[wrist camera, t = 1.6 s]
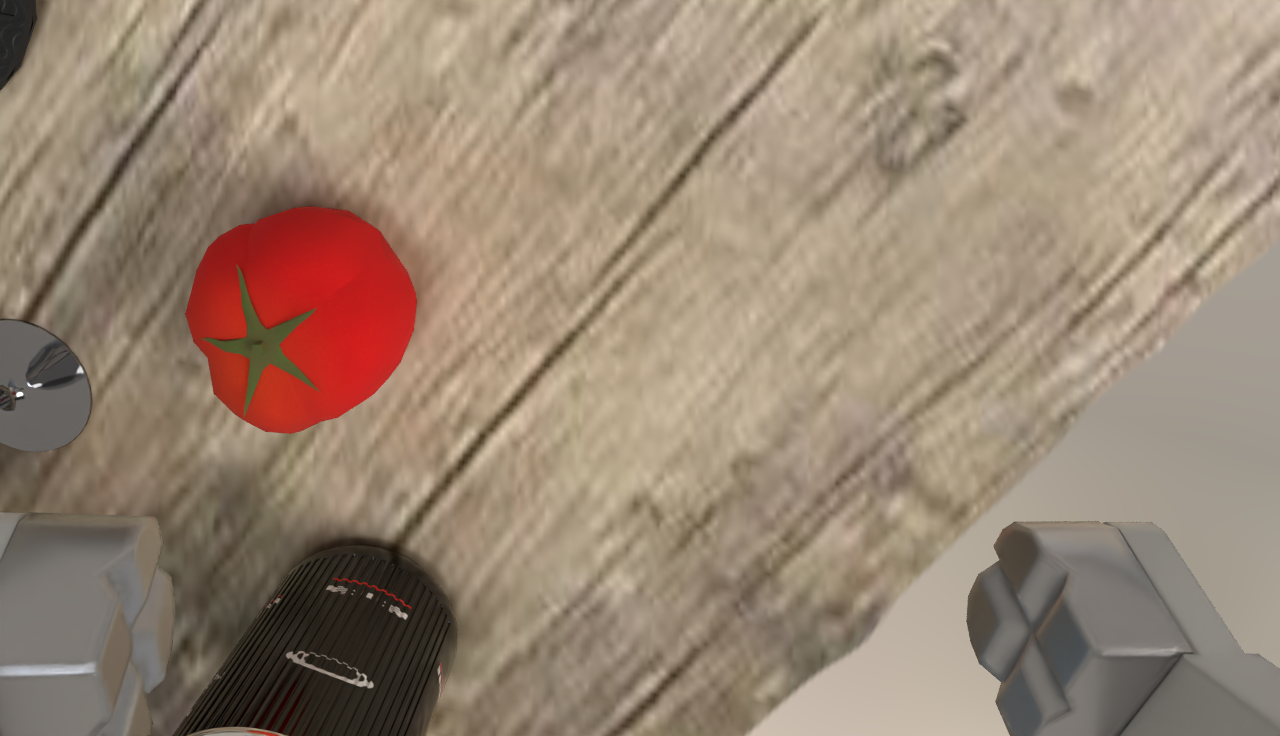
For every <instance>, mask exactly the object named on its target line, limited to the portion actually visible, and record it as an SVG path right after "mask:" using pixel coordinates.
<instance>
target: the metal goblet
mask: <svg viewBox="0 0 1280 736" xmlns="http://www.w3.org/2000/svg"><path fill="white" fill-rule="evenodd" d="M91 405H92V397H91V388H90V384H89V380H88V378H87V375H86V373H85V371H84V368H83V367H82V365H81V363H80V362H79V360H78V359H77V357H76V356H75V355H74V353H73V352H72V351H71V350H70V349H69V348H68V346H66V345H65V344H64V343H63V342H62V341H61V340H60V339H58V338H57V337H56V336H54V335H53V334H51V333H50V332H48V331H46V330H45V329H42V328H40V327H38V326H36V325H34V324H30V323H27V322H23V321H18V320H10V319H4V320H0V443H2V444H5V445H7V446H9V447H12V448H16V449H19V450H24V451H32V452H38V451H49V450H54V449H58V448H60V447H63V446H65V445H67V444H68V443H70V442H71V441H73V440H74V439H75V438H76V437H77V436H78V435H79V434H80V433H81V432H82V431H83V429H84V427H85V426H86V424H87V422H88V419H89V416H90V413H91Z"/></svg>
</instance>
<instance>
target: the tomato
mask: <svg viewBox="0 0 1280 736" xmlns="http://www.w3.org/2000/svg"><path fill="white" fill-rule="evenodd" d="M416 305H417V299H416V292H415V290H414V287H413V285H412V282H411V279H410V277H409V274H408V272H407V270H406V269H405V267H404V266H403V264H402V263H401V261H400V260H399V259H398V257H397V256H396V254H395V253H394V251H393V250H392V248H391V247H390V245H389V244H388V242H387V241H386V240H385V238H384V237H383V235H382V234H381V232H380V231H379V230H378V229H376V228H375V227H373V226H372V225H370V224H369V223H367V222H366V221H364V220H362V219H361V218H359V217H358V216H356V215H355V214H353V213H352V212H350V211H347V210H339V209H330V208H322V207H313V206H309V207H299V208H292V209H289V210H286V211H283V212H280V213H277V214H274V215H271V216H268V217H265V218H262V219H259V220H258V221H257V222H256V223H254V224H244V225H239V226H237V227H235V228H233V229H232V230H230V231H228V232H226V233H224V234H222V235H221V236H219V237H218V238H217V239H216V240H215V241H214V242H213V243H212V244H211V245H210V246H209V247H208V249H207V251H206V253H205V255H204V257H203V259H202V261H201V263H200V265H199V267H198V269H197V271H196V275H195V279H194V283H193V287H192V291H191V294H190V298H189V302H188V306H187V309H186V313H185V315H186V318H187V321H188V324H189V328H190V331H191V334H192V338H193V341H194V343H195V344H196V345H197V346H198V347H199V348H200V350H201V351H202V352H203V353H204V354H205V355H206V356H207V358H208V363H209V368H210V374H211V380H212V386H213V392H214V394H215V395H216V396H217V397H218V398H219V399H220V400H221V401H222V402H223V403H224V404H225V405H226V406H227V407H228V408H229V409H230V410H231V411H232V412H233V413H234V414H235V415H237V416H238V417H240V418H241V419H243V420H245V421H246V422H248V423H250V424H252V425H254V426H256V427H258V428H260V429H262V430H263V431H265V432H276V433H290V434H291V433H295V432H299V431H302V430H304V429H307V428H309V427H311V426H313V425H315V424H317V423H319V422H321V421H325V420H329V419H333V418H338V417H339V416H341V415H342V414H344V413H345V412H347V411H349V410H350V409H352V408H353V407H355V406H357V405H358V404H360V403H361V402H363V401H364V400H366V399H367V398H369V397H370V396H372V395H373V394H374V393H375V392H376V391H377V390H378V389H379V388H380V387H381V386H382V385H383V383H384V382H385V381H386V380H387V379H388V378H389V377H390V375H391V374H392V373H393V371H394V370H395V369H396V367H397V366H398V365H399V363H400V362H401V360H402V357H403V355H404V352H405V350H406V347H407V345H408V343H409V340H410V338H411V336H412V333H413V331H414V323H415V314H416Z"/></svg>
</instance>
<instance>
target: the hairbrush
mask: <svg viewBox="0 0 1280 736" xmlns="http://www.w3.org/2000/svg"><path fill="white" fill-rule="evenodd" d="M36 20H37V16H36V3H35V0H0V90H1V89H2V88H3V87H4V85H5V84H6V83H7V82H8V81H9V79H10V78H11V77H12V76H13V75H14V74H15V72H16V71H17V70H18V69H19V68H20V66H21V63H22V61H23V58H24V55H25V52H26V49H27V46H28V43H29V40H30V37H31V35H32V32H33V29H34V26H35V23H36Z"/></svg>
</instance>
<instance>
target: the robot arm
mask: <svg viewBox="0 0 1280 736" xmlns="http://www.w3.org/2000/svg"><path fill="white" fill-rule="evenodd" d="M162 547H163V539H162V535H161V532H160V528H159V524H158V521H157V518H154V517H150V516H123V515H91V514H59V513H2V512H0V736H150V733H151V729H152V725H153V721H152V717H151V713H150V709H149V705H148V701H147V697H146V695H147V694H148V693H149V692H150V691H151V690H152V689H153V688H155V687H156V686H157V685H158V684H159V683H160V682H161V681H162V680H163V679H164V678H165V675H166V671H167V667H168V663H169V659H170V655H171V650H172V643H173V634H174V624H175V599H174V590H173V585H172V580H171V576H170V575H169V574H168V573H166V572H165V571H164V570H162V569H161V568H160V567H158V566H157V564H158V561H159V557H160V554H161V550H162ZM994 549H995V551H996V553H997V555H998V557H999V561H998V562H996V563H995V564H993V565H992V566H990V567H989V568H987V569H986V570H984V571H983V572H981V573H980V574H978V576H977V578H976V580H975V583H974V585H973V587H972V589H971V591H970V593H969V596H968V607H967V625H968V631H969V636H970V641H971V644H972V647H973V649H974V652H975V654H976V656H977V659H978V662H979V664H980V665H982V666H983V667H984V668H985V669H986V670H988V671H989V672H990V673H991V674H992V675H993V676H995V677H996V678H997V679H998V680H999V681H1000V682H1001V685H1000V688H999V692H998V695H997V699H996V704H997V707H998V709H999V711H1000V714H1001V716H1002V718H1003V721H1004V723H1005V725H1006V728H1007V730H1008V732H1009V735H1010V736H1280V669H1279V668H1278V667H1276V666H1275V665H1274V664H1272V663H1271V662H1269V661H1268V660H1267V659H1265V658H1264V657H1262V656H1261V655H1260V654H1252V653H1251V654H1250V653H1244V652H1243V650H1242V649H1241V647H1240V646H1239V644H1238V642H1237V641H1236V640H1235V638H1234V637H1233V635H1232V633H1231V632H1230V630H1229V629H1228V627H1227V626H1226V624H1225V623H1224V621H1223V620H1222V618H1221V617H1220V615H1219V614H1218V612H1217V610H1216V609H1215V607H1214V606H1213V604H1212V603H1211V601H1210V600H1209V598H1208V597H1207V595H1206V594H1205V592H1204V591H1203V589H1202V588H1201V586H1200V585H1199V583H1198V581H1197V580H1196V579H1195V577H1194V576H1193V574H1192V573H1191V571H1190V569H1189V568H1188V566H1187V565H1186V563H1185V562H1184V560H1183V559H1182V557H1181V556H1180V554H1179V553H1178V551H1177V549H1176V548H1175V546H1174V545H1173V543H1172V542H1171V540H1170V539H1169V537H1168V536H1167V534H1166V533H1165V532H1164V531H1163V530H1162V529H1161V528H1159V527H1158V526H1156V525H1155V524H1154V523H1152V522H1104V523H1101V522H1098V521H1074V522H1073V521H1072V522H1071V521H1069V522H1067V521H1064V522H1013V523H1012V524H1010V525H1009V526H1007V527H1006V528H1004V529H1003V530H1002V532H1001V534H1000V535H999V537H998V539H997V541H996V542H995V544H994Z"/></svg>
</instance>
